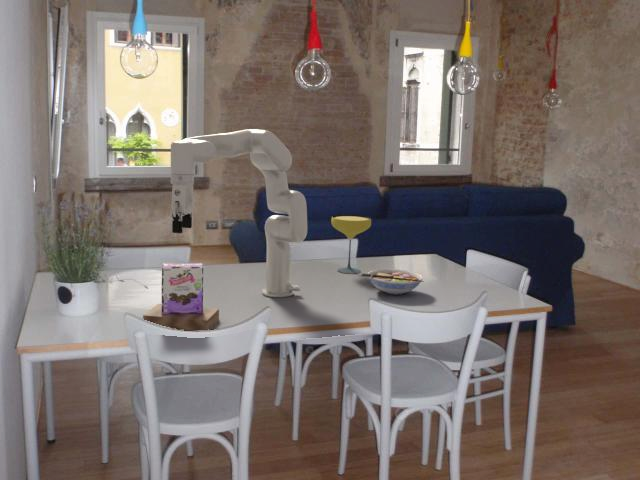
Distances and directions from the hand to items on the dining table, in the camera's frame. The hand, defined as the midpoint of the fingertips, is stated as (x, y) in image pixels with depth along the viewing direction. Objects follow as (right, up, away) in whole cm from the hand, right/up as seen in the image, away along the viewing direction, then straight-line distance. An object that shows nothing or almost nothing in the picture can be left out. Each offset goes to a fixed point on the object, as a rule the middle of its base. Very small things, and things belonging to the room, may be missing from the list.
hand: (182, 230), depth 236 cm
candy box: (-1, -28, +6) cm, 29 cm away
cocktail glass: (+59, -18, +90) cm, 110 cm away
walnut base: (-1, -32, +6) cm, 32 cm away
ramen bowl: (+76, -25, +56) cm, 98 cm away
